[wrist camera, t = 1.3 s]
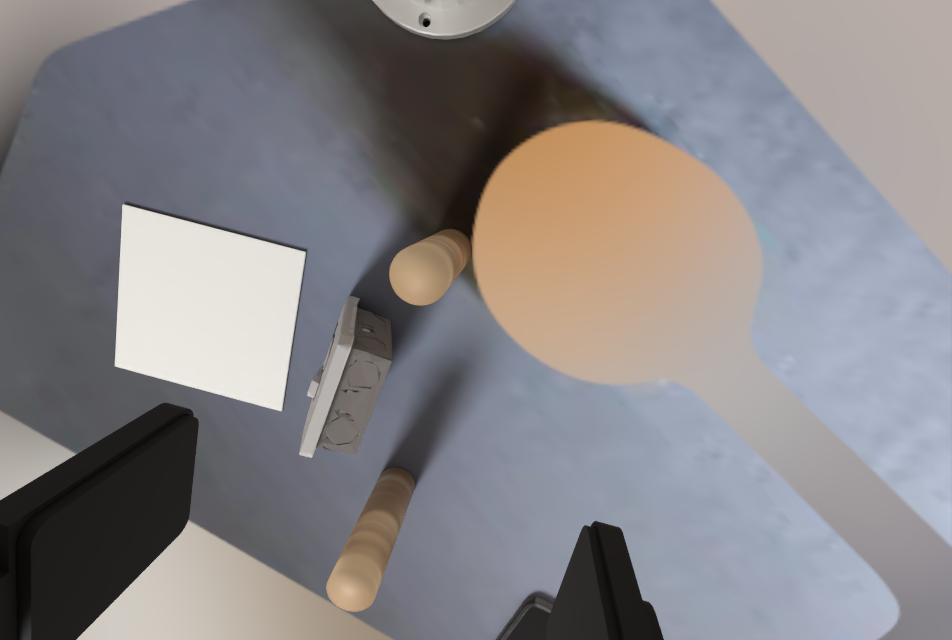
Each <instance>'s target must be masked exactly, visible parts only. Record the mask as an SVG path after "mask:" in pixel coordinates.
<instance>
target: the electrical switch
mask: <svg viewBox="0 0 952 640" xmlns="http://www.w3.org/2000/svg"><path fill="white" fill-rule="evenodd" d="M359 299H360V298H357V297H353V296H348V298H347V300H346V302H345V304H344V306H343V309H342V312H341V315H340V318H339V321H338V323H337V326H336V329H335V332H334V335H333V338H332V341H331V344H330V347H329V350H328V353H327V356H326V358H325V361H324V364H323V366H322V367H321V368H320V370H319V371H318V372H317V373H316V375H315V376H314V378H313V379H312V382H311V385H310V387H309V390H308V396H310V397H312V401H311V405H310V408H309V412H308V416H307V419H306V423H305V427H304V431H303V436H302V442H301V448H300V455H303V456H307V457H310V458H312V456H313V454H314V451H315V448H325V449H328V450H340V451H344V452H348V453H353V454H356V453H357V451H358V448H359V446H360V443H361V440H362V438H363V435H364V433H365V430H366V427H367V425H368V422H369V420H370V417H371V414H372V412H373V409H374V407H375V404H376V401H377V399H378V396H379V394H380V391H381V389H382V386H383V383H384V381H385V378H386V376H387V373H388V370H389V368H390V365H391V363H392V360H389V359H392V338H391V320H390V319H387V318H383V317H380V316H377V315H376V314H374V313H372V312H369V311H365V310H362V309H360V308H358V307H357V305H358V302H359ZM379 356H380V357H379ZM382 357H384V358H382ZM385 358H388V359H385ZM380 373H381V374H380Z"/></svg>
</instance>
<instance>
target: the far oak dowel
mask: <svg viewBox="0 0 952 640" xmlns="http://www.w3.org/2000/svg"><path fill="white" fill-rule="evenodd" d="M414 488H415V482H414V479H413V477H412V475H411V474H410V473H409V472H408V471H406V470H405V469H403V468H399V467H391V468H388V469H386V470H385V471H383V472H382V474H381V475H380V477H379V479H378V481H377V483H376V485H375V487H374V489H373V491H372V493H371V495H370V497H369V499H368V501H367V503H366V505H365V507H364V509H363V511H362V513H361V515H360V517H359V519H358V521H357V523H356V525H355V527H354V529H353V531H352V533H351V535H350V537H349V539H348V541H347V543H346V545H345V547H344V549H343V552H342V554H341V556H340V558H339V560H338V562H337V564H336V566H335V568H334V570H333V572H332V574H331V576H330V578H329V580H328V582H327V593H328V596H329V598H330V599H331V601H332V602H333V603H334V604H335V605H337V606H338V607H340V608H342V609H344V610H347V611H362V610H364V609H366V608H368V607H369V606H370V605H371V604H372V603H373V601H374V599H375V596H376V594H377V591H378V588H379V585H380V582H381V580H382V577H383V574H384V571H385V569H386V566H387V563H388V560H389V558H390V555H391V552H392V549H393V547H394V544H395V541H396V538H397V535H398V533H399V530H400V527H401V524H402V522H403V519H404V516H405V513H406V511H407V508H408V505H409V502H410V499H411V497H412V494H413V491H414Z"/></svg>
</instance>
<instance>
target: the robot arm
mask: <svg viewBox="0 0 952 640" xmlns="http://www.w3.org/2000/svg"><path fill="white" fill-rule="evenodd" d="M517 1H518V0H373V2H374V3H375V4H376V5H377V6H378V7H379V9H380V10H381V11H382V12H383V13H384V14H385V15H386V16H387V17H389V18H390V19H391V20H392V21H393V22H395V23H396V24H397V25H399V26H401V27H402V28H404V29H406V30H408V31H410V32H411V33H414V34H417V35H420V36H424V37H427V38H433V39H445V40H447V39H455V38H463V37H466V36H469V35H472V34H475V33H478V32H481V31H482V30H484V29H486V28H487V27H489V26H491V25H492V24H494V23H496V22H497V21H498V20H499V19H500V18H502V17H503V16H504V15H505V14H506V13H507V12H508V11H509V10H510V9H511V8H512V7H513V6H514V4H515V3H516V2H517ZM428 20H429V21H430V25H429V26H428V27H424V22H425V21H428ZM198 426H199V422H198V419H197V418H195V417H193V412H192V411H191V410H190V409H187V408H184V407H180V406H176V405H173V404H169V403H162V404H160V405H158V406H156V407H155V408H153V409H151V410H150V411H148V412H147V413H145V414H143V415H142V416H140V417H138V418H137V419H135V420H133V421H132V422H130V423H128V424H127V425H125V426H123V427H122V428H120V429H118V430H117V431H115V432H113V433H112V434H110V435H108V436H107V437H105V438H103V439H102V440H100V441H98V442H97V443H95V444H93V445H92V446H90V447H88V448H87V449H85V450H83V451H82V452H80V453H78V454H77V455H75V456H73V457H72V458H70V459H68V460H67V461H65V462H63V463H62V464H60V465H58V466H57V467H55V468H53V469H52V470H50V471H49V472H47V473H45V474H43V475H42V476H40V477H38V478H37V479H35V480H33V481H32V482H30V483H28V484H27V485H25V486H24V487H22V488H20V489H18V490H17V491H15V492H14V493H12V494H10V495H8V496H7V497H5V498H3V499H2V500H0V640H76V639H77V638H78V637H79V636H80V635H81V634H82V633H83V632H84V631H85V630H86V629H87V628H88V627H89V626H90V625H91V624H92V623H93V622H94V621H95V620H96V619H97V618H98V617H99V616H100V615H101V614H102V613H103V612H104V611H105V610H106V609H107V608H108V607H109V606H110V604H112V603H113V602H114V600H116V599H117V598H118V597H119V596H120V594H122V592H123V591H124V590H125V589H126V588H127V587H128V586H129V585H130V584H131V583H132V582H133V581H134V580H135V579H136V578H137V577H138V576H139V575H140V574H141V573H142V572H143V571H144V570H145V569H146V568H147V567H148V566H149V565H150V564H151V563H152V562H153V561H154V560H155V559H156V558H157V557H158V556H159V555H160V554H161V553H162V552H163V551H164V550H165V549H166V548H167V547H168V546H169V545H170V544H171V543H172V542H173V541H174V540H175V539H176V537H178V536H179V534H180V533H181V532H182V531H183V529H184V528H185V526H186V524H187V522H188V519H189V513H190V503H191V493H192V484H193V474H194V464H195V455H196V445H197V435H198ZM546 640H664V639H663V636H662V632H661V629H660V626H659V623H658V620H657V616H656V613H655V611H654V609H653V606H652V605H651V604H650V603H649V602H647V601H643V600H642V597H641V594H640V590H639V587H638V583H637V580H636V577H635V573H634V570H633V566H632V563H631V560H630V556H629V553H628V549H627V546H626V542H625V539H624V536H623V532H622V530H621V529H620V528H619V527H615V526H612V525H608V524H605V523H601V522H597V521H595V522H593V523H592V525H591V527H590V526H586V525H585V526H584V527H583V528H582V530H581V533H580V535H579V538H578V541H577V543H576V546H575V549H574V551H573V554H572V557H571V559H570V562H569V565H568V567H567V570H566V573H565V575H564V578H563V581H562V584H561V586H560V589H559V592H558V594H557V597H556V600H555V602H554V605H553V608H552V610H551V613H550V616H549V619H548V623H547V630H546Z"/></svg>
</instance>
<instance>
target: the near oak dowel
mask: <svg viewBox="0 0 952 640" xmlns="http://www.w3.org/2000/svg"><path fill="white" fill-rule="evenodd" d="M471 254H472V246H471V243H470V240H469V239H468V237H467V236H466V235H465V234H464V233H463V232H461V231H459V230H456V229H445V230H442V231H440V232H438V233H436V234H434V235H432V236H430V237H427V238H425V239H423V240H421V241H419V242H417V243H415V244H413V245H411V246H409V247H407V248H405V249H403V250H401V251H400V252H399V253H398V254H397V255H396V256H395V257H394V259H393V261H392V263H391V266H390V271H389V277H390V282H391V285H392V288H393V289H394V291H395V292H396V294H397V295H398V296H399V297H400V298H401V299H402V300H404V301H406V302H408V303H410V304H413V305H420V306H421V305H428V304H431V303H434V302H436V301H437V300H438V299H440V298H441V297H442V296H443V294H444V293H445V292H446V290H447V289H448V288H449V287H450V285H451V284H452V283H453V281H454V280H455V279H456V277H457V276H458V275H459V274H460V272H461V271H462V270H463V268H464V267H465V266H466V264H467V263H468V262H469V260H470V258H471Z"/></svg>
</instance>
